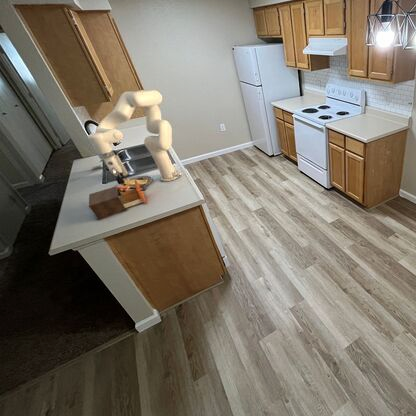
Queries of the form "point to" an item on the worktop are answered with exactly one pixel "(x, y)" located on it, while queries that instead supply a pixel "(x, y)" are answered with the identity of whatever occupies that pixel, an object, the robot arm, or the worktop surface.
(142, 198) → the drawer
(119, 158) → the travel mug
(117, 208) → the cabinet
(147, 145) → the robot arm
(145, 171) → the worktop surface
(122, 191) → the food plate
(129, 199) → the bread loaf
